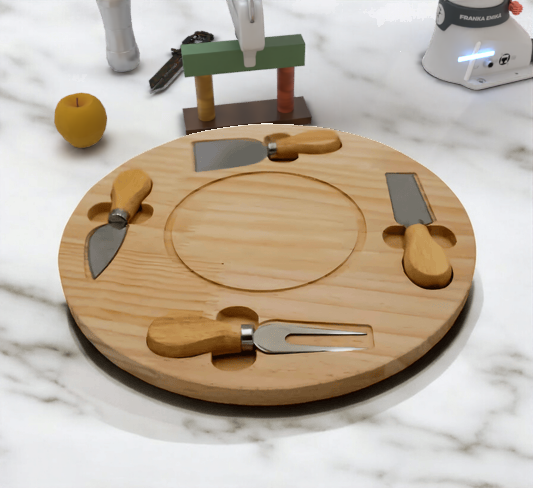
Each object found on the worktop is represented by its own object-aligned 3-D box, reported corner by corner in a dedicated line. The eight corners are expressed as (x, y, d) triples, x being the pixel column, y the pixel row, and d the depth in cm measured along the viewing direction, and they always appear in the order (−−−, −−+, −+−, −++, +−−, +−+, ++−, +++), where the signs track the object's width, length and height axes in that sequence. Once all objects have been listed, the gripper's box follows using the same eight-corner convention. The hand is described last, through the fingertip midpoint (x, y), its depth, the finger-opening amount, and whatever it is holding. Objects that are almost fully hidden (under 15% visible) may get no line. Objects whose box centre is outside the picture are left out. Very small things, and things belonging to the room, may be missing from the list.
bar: (300, 55, 111) (301, 33, 108) (304, 65, 108) (305, 43, 106) (183, 67, 109) (180, 44, 106) (184, 77, 106) (182, 54, 103)
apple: (87, 164, 107) (75, 118, 101) (50, 148, 110) (36, 103, 104) (121, 138, 112) (112, 93, 106) (85, 124, 115) (74, 79, 109)
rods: (303, 103, 120) (304, 50, 112) (311, 124, 115) (313, 70, 107) (183, 115, 117) (177, 62, 110) (186, 137, 112) (180, 83, 105)
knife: (157, 98, 121) (156, 92, 120) (128, 91, 123) (127, 84, 122) (222, 40, 138) (221, 34, 137) (195, 34, 140) (194, 28, 139)
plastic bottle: (102, 72, 128) (81, -30, 115) (120, 56, 133) (102, -44, 119) (130, 78, 127) (112, -25, 113) (148, 62, 131) (132, -39, 117)
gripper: (274, -9, 90) (275, 80, 100) (251, -61, 105) (254, 21, 114) (229, -4, 89) (234, 85, 99) (212, -58, 104) (218, 25, 113)
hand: (245, 50), depth 107 cm, fingers open, 8 cm apart
